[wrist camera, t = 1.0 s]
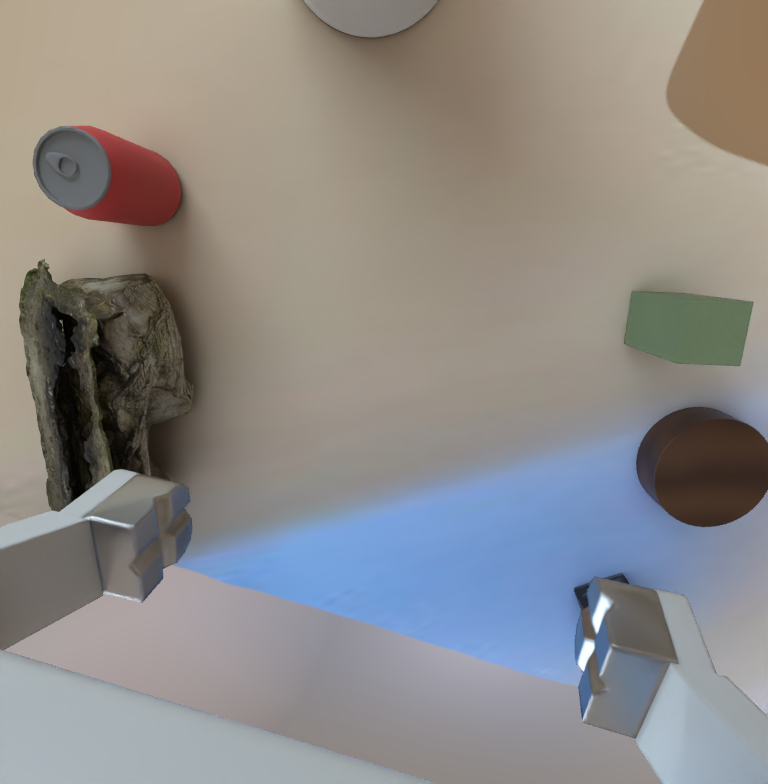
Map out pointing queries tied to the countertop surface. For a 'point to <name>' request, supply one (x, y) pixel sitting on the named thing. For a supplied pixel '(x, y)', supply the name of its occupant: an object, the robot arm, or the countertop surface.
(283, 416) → the countertop surface
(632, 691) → the robot arm
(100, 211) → the beer can
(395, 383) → the countertop surface
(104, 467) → the hollow geode rock
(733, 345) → the block
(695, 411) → the cylinder
